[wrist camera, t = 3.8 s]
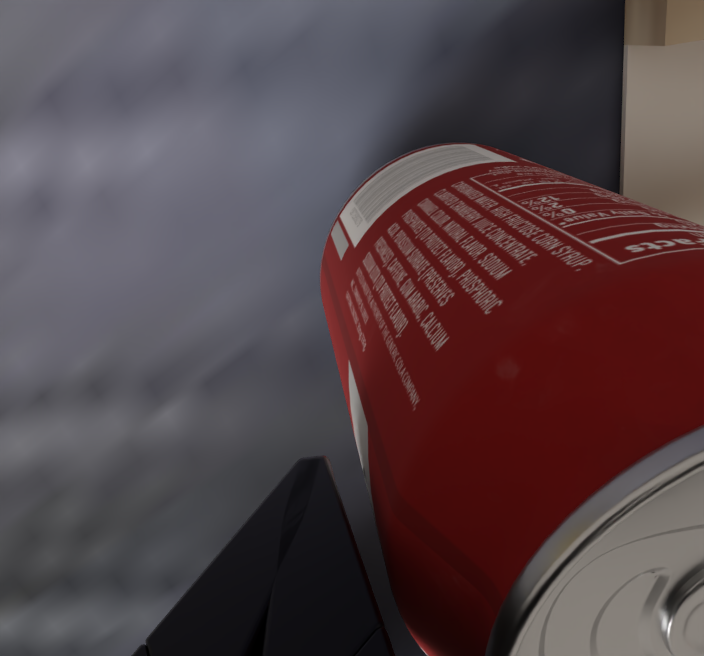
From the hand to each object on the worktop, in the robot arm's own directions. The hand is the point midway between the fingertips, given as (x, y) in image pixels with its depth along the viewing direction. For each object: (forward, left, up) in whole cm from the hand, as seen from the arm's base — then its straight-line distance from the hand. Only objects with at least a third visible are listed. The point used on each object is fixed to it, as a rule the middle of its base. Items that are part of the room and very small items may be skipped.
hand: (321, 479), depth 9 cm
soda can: (0, -2, -9) cm, 9 cm away
